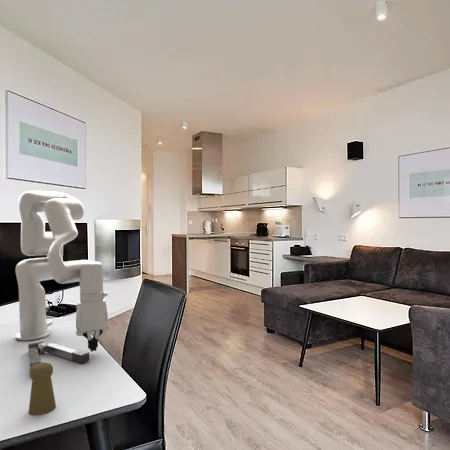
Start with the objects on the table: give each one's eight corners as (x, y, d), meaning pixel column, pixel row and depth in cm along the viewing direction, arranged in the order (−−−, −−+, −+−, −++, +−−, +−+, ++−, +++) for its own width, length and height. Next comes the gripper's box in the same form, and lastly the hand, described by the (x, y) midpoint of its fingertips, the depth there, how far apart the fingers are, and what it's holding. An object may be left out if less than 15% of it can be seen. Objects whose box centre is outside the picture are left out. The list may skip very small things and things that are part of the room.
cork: (44, 416, 86) (43, 369, 86) (22, 414, 87) (21, 368, 87) (61, 403, 92) (60, 360, 92) (40, 401, 93) (39, 359, 93)
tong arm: (37, 353, 128) (36, 344, 128) (51, 348, 132) (51, 340, 132) (74, 366, 115) (74, 356, 115) (89, 360, 120) (89, 350, 120)
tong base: (26, 352, 129) (26, 344, 129) (43, 349, 132) (43, 341, 132) (30, 378, 108) (30, 368, 108) (51, 373, 110) (50, 364, 110)
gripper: (111, 293, 133) (112, 343, 133) (66, 298, 126) (68, 351, 126) (116, 296, 127) (117, 349, 127) (70, 302, 119) (71, 358, 119)
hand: (93, 350), depth 126 cm, fingers closed
